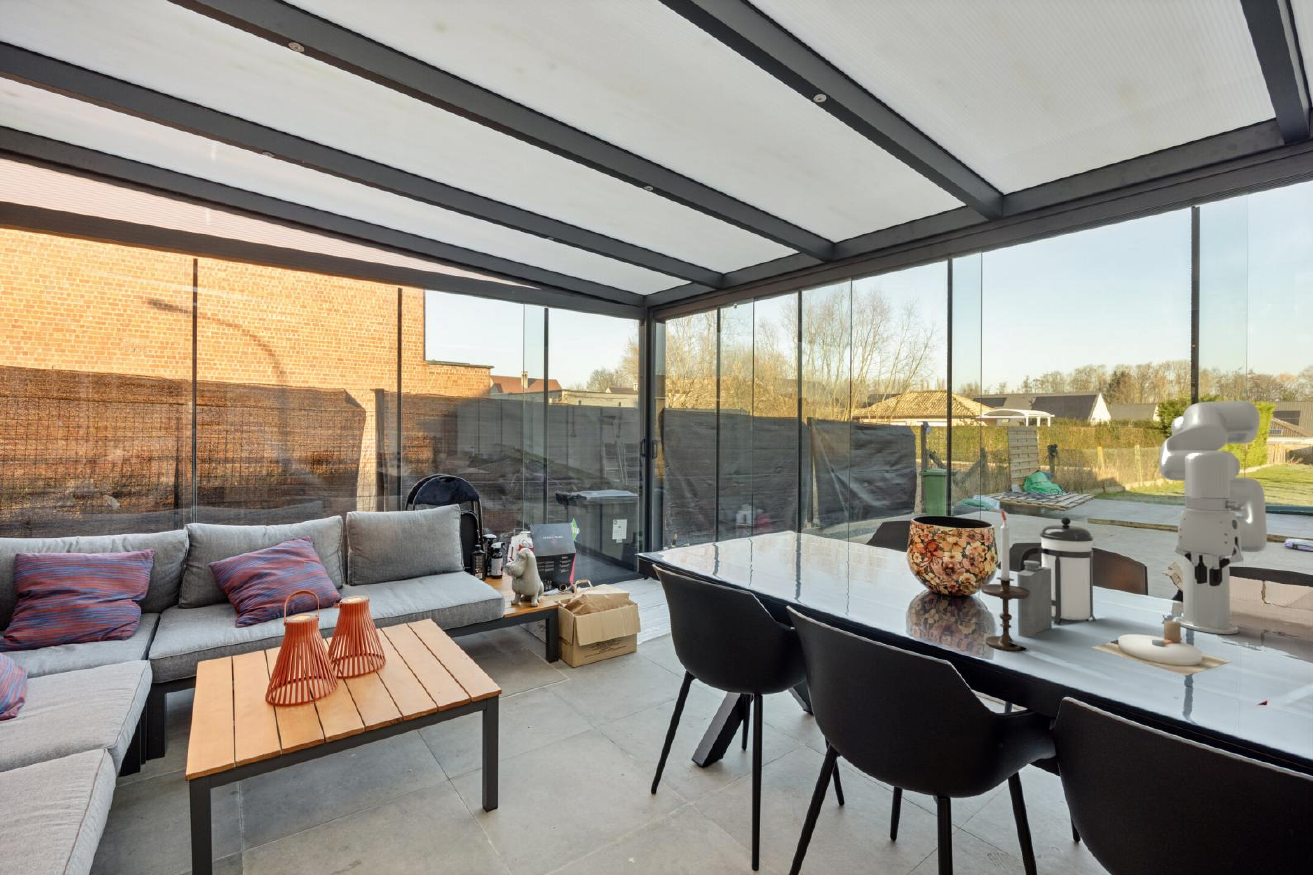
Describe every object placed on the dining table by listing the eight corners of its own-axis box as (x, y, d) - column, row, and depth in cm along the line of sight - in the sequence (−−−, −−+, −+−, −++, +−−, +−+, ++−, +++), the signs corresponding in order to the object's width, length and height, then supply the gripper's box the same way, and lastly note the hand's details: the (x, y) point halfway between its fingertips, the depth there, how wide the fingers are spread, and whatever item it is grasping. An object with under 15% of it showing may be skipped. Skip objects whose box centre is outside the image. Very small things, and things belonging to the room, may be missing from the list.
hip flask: (1029, 643, 150) (1028, 566, 150) (1012, 639, 153) (1011, 563, 153) (1053, 631, 160) (1052, 558, 160) (1037, 627, 163) (1036, 556, 163)
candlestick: (988, 650, 145) (987, 510, 145) (976, 636, 156) (975, 506, 156) (1037, 654, 142) (1036, 512, 143) (1022, 640, 153) (1021, 507, 153)
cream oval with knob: (1180, 669, 128) (1179, 640, 128) (1104, 647, 142) (1104, 621, 142) (1218, 657, 135) (1218, 629, 135) (1143, 638, 149) (1142, 612, 149)
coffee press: (1048, 608, 181) (1046, 512, 181) (1108, 622, 167) (1107, 518, 167) (1018, 617, 172) (1017, 516, 172) (1079, 632, 158) (1078, 522, 158)
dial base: (1135, 642, 151) (1135, 635, 151) (1231, 667, 133) (1231, 660, 133) (1091, 653, 143) (1090, 646, 143) (1186, 682, 126) (1186, 673, 126)
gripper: (1261, 507, 129) (1262, 590, 129) (1174, 501, 143) (1175, 575, 143) (1244, 509, 126) (1245, 594, 126) (1157, 502, 140) (1158, 578, 140)
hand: (1208, 583), depth 134 cm, fingers closed
